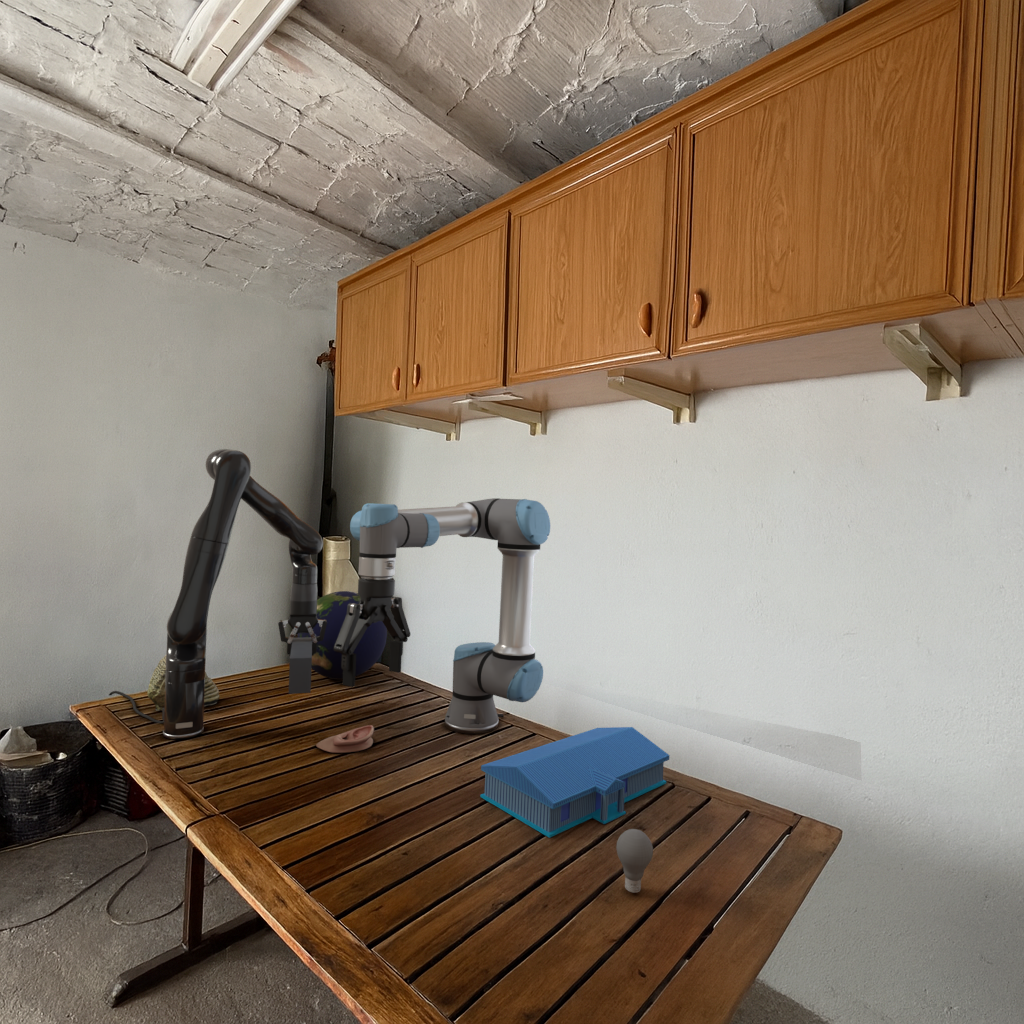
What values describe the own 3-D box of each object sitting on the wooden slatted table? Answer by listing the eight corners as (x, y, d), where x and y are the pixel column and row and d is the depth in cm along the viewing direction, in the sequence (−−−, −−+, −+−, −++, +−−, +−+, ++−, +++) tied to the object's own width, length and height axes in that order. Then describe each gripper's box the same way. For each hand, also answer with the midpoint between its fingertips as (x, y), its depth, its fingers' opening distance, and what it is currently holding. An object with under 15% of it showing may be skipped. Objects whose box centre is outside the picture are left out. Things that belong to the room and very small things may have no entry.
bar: (291, 668, 189) (292, 637, 189) (311, 668, 191) (312, 637, 190) (288, 693, 165) (289, 658, 165) (310, 692, 167) (311, 657, 167)
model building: (561, 845, 119) (564, 792, 119) (478, 796, 137) (480, 750, 137) (678, 787, 145) (680, 744, 145) (596, 753, 163) (598, 714, 163)
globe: (276, 681, 212) (279, 592, 211) (333, 662, 239) (336, 583, 239) (350, 695, 201) (354, 601, 200) (401, 673, 228) (404, 590, 228)
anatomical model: (310, 734, 157) (332, 718, 168) (310, 749, 157) (332, 733, 169) (360, 740, 155) (379, 724, 166) (359, 756, 155) (378, 739, 166)
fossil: (144, 707, 182) (145, 655, 182) (212, 696, 194) (213, 647, 194) (151, 716, 175) (153, 662, 175) (221, 703, 188) (223, 653, 188)
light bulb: (610, 879, 108) (613, 822, 108) (644, 879, 109) (647, 822, 109) (619, 902, 102) (622, 840, 102) (655, 901, 103) (658, 840, 103)
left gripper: (277, 600, 180) (275, 659, 181) (329, 600, 185) (327, 657, 185) (278, 596, 187) (276, 653, 188) (329, 596, 192) (327, 651, 192)
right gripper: (345, 584, 120) (340, 695, 120) (428, 574, 141) (424, 669, 141) (317, 580, 124) (313, 688, 124) (403, 571, 145) (399, 663, 145)
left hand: (301, 655), depth 186 cm, fingers closed on bar, 5 cm apart
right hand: (372, 678), depth 133 cm, fingers open, 13 cm apart
